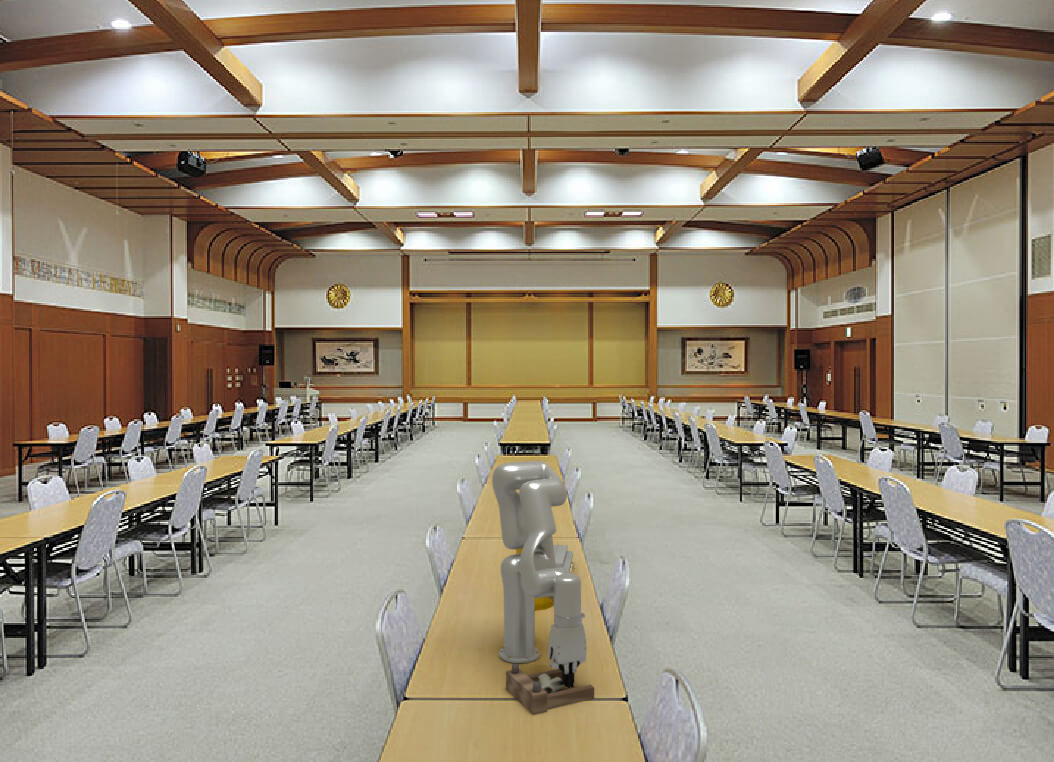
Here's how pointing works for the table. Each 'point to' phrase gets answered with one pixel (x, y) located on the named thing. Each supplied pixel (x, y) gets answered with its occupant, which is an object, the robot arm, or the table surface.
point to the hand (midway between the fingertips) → (568, 686)
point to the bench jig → (542, 691)
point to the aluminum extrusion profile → (563, 556)
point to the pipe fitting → (550, 683)
